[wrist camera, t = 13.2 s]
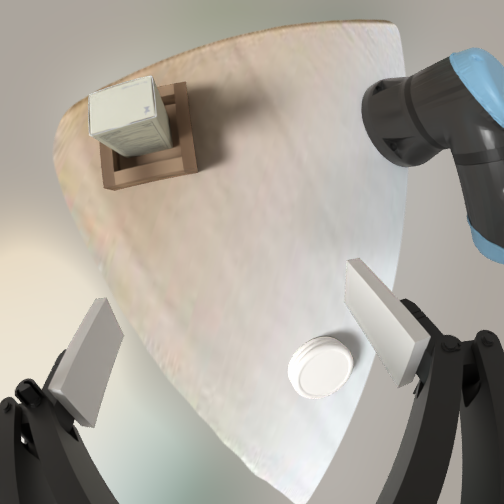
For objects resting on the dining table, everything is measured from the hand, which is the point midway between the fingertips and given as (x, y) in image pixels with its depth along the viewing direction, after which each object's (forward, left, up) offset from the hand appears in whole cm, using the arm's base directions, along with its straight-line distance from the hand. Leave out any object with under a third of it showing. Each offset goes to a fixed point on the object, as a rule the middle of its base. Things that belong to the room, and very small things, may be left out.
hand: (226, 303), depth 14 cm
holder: (+6, -15, -21) cm, 26 cm away
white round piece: (-12, +21, -21) cm, 32 cm away
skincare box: (+6, -15, -20) cm, 26 cm away
